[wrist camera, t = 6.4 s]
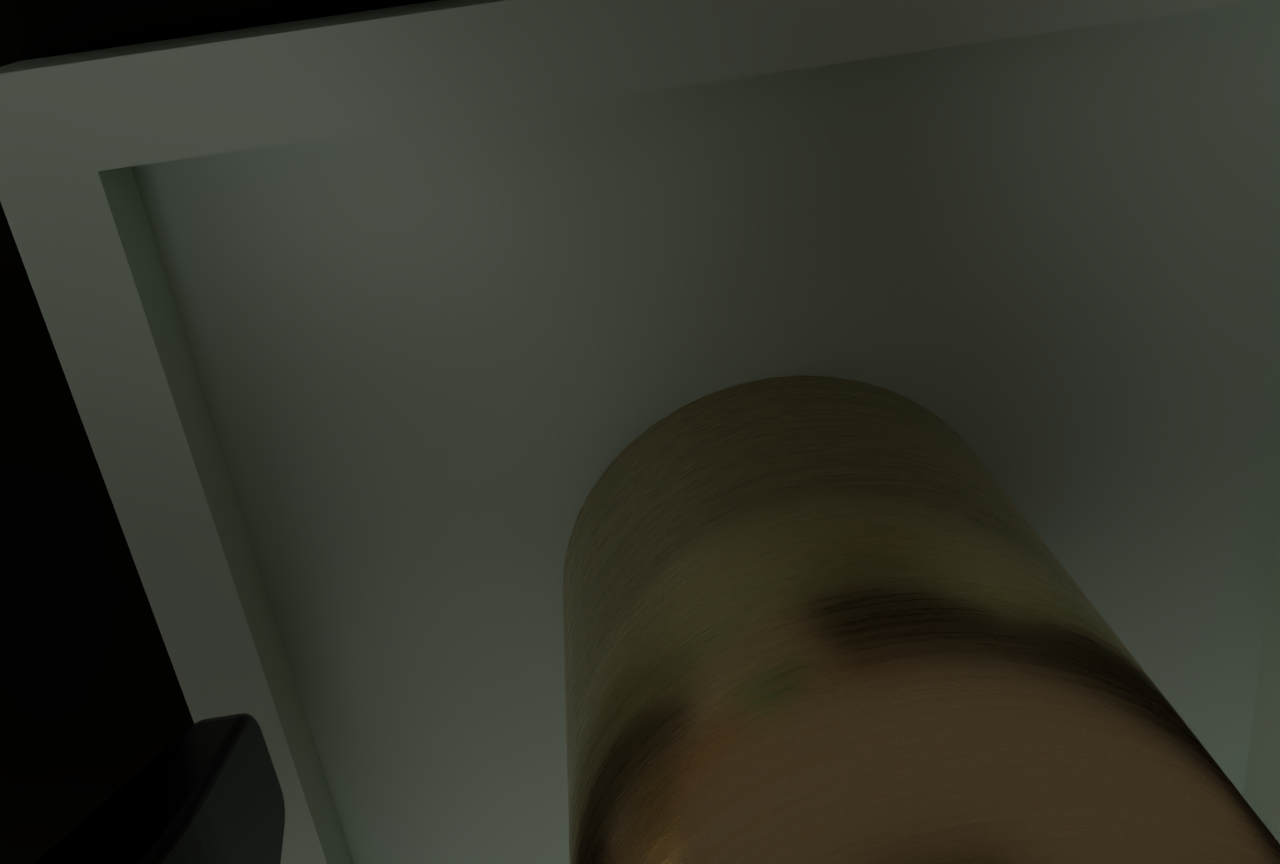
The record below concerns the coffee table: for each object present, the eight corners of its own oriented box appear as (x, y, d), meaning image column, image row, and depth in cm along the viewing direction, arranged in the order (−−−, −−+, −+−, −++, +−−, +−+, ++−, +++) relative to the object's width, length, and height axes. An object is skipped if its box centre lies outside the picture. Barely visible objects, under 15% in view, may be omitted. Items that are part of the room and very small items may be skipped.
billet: (1007, 342, 9) (1518, 827, 4) (1005, 725, 11) (1374, 1383, 6) (526, 414, 9) (508, 987, 4) (597, 788, 11) (640, 1506, 6)
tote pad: (1416, -141, 9) (1519, -146, 8) (1270, 882, 13) (1324, 956, 12) (19, 60, 8) (-44, 80, 7) (353, 1026, 13) (339, 1112, 12)
